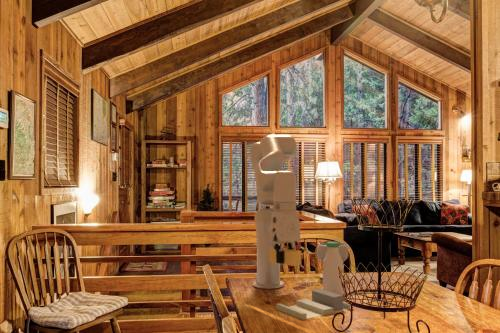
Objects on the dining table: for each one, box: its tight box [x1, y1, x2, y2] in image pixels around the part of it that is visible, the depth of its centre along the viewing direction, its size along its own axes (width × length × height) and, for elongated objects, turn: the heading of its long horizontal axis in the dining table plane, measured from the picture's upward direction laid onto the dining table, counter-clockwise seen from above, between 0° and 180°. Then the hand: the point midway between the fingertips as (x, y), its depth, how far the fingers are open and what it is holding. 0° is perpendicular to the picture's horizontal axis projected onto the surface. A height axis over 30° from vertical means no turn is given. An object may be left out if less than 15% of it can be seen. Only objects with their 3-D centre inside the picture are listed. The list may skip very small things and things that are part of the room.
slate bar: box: [311, 288, 344, 311], centre depth 158 cm, size 11×4×4 cm, turn 32°
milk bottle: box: [322, 241, 345, 296], centre depth 177 cm, size 8×8×20 cm
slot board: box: [275, 298, 351, 321], centre depth 155 cm, size 14×21×3 cm, turn 122°
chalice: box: [316, 241, 349, 280], centre depth 209 cm, size 14×14×15 cm
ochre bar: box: [269, 248, 302, 267], centre depth 158 cm, size 11×4×4 cm, turn 41°
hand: (285, 261), depth 158 cm, fingers closed on ochre bar, 4 cm apart
